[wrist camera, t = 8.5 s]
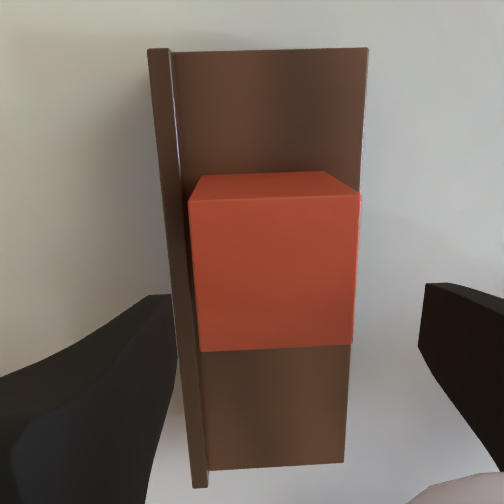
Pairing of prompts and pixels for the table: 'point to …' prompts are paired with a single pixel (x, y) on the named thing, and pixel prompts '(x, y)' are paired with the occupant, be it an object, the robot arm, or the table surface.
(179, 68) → the shelf
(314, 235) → the block
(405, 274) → the table surface
